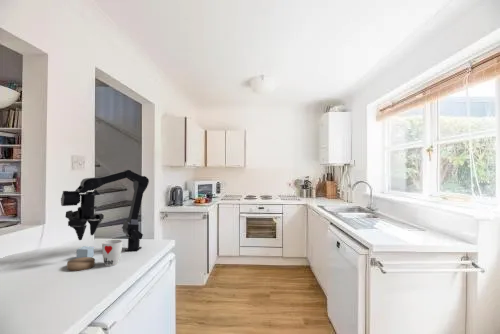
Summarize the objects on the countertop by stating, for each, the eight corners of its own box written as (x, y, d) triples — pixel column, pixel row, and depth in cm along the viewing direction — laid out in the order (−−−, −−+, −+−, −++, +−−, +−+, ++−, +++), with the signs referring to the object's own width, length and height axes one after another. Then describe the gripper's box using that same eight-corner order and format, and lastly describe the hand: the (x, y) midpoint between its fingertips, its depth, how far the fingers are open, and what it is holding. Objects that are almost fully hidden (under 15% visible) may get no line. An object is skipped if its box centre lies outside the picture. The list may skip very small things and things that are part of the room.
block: (83, 256, 127) (83, 246, 127) (93, 256, 127) (93, 246, 127) (76, 260, 122) (76, 249, 122) (87, 260, 122) (87, 249, 122)
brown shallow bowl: (76, 262, 118) (77, 256, 118) (99, 263, 118) (99, 257, 118) (61, 270, 108) (61, 264, 108) (85, 271, 108) (85, 265, 108)
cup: (97, 265, 116) (98, 242, 116) (114, 260, 123) (115, 238, 123) (108, 268, 112) (109, 245, 112) (125, 263, 119) (126, 241, 119)
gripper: (82, 202, 134) (81, 232, 134) (56, 206, 115) (54, 242, 115) (104, 202, 134) (103, 233, 134) (82, 207, 116) (80, 243, 115)
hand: (86, 237), depth 124 cm, fingers open, 9 cm apart
